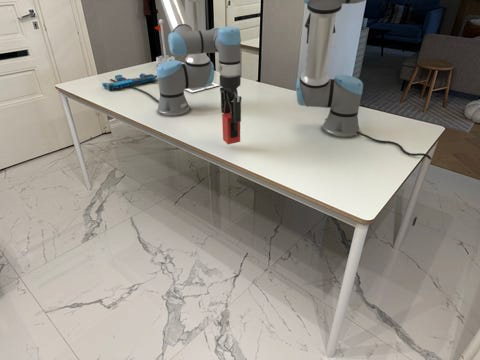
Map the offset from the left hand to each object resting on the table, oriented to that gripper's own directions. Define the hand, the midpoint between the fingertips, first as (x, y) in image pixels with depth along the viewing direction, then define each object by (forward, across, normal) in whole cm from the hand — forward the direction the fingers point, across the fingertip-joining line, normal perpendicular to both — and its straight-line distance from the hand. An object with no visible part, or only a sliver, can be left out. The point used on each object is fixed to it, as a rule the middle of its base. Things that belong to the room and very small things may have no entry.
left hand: (231, 134), depth 133 cm
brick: (+3, 0, 0) cm, 3 cm away
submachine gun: (+6, -107, -18) cm, 108 cm away
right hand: (-22, -30, +62) cm, 72 cm away
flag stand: (+6, -135, +13) cm, 136 cm away
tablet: (+6, -88, +15) cm, 89 cm away
